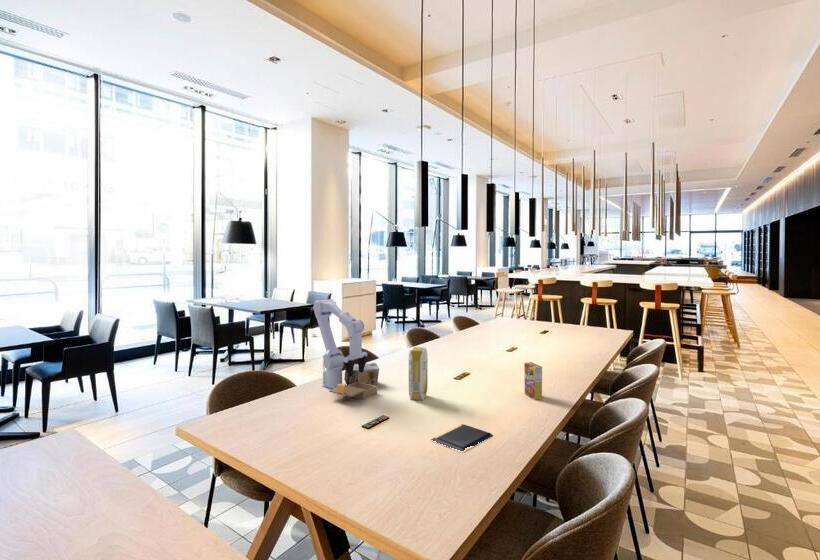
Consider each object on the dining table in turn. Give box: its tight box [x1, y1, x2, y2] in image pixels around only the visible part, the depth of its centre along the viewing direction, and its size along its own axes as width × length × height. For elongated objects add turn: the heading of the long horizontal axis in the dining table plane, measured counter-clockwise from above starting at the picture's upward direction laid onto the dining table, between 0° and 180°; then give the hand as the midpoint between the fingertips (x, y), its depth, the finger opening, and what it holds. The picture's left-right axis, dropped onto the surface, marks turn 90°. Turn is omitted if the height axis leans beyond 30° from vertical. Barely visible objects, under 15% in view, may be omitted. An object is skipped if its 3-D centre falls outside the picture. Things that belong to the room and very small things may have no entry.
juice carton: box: [408, 345, 429, 401], centre depth 204 cm, size 9×8×24 cm
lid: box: [328, 383, 366, 398], centre depth 203 cm, size 13×10×4 cm
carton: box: [348, 382, 378, 400], centre depth 210 cm, size 13×10×4 cm
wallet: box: [430, 423, 494, 451], centre depth 161 cm, size 20×2×15 cm
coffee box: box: [343, 362, 380, 385], centre depth 224 cm, size 9×6×16 cm
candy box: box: [523, 361, 543, 401], centre depth 205 cm, size 9×4×15 cm, turn 17°
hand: (355, 374), depth 210 cm, fingers open, 7 cm apart
